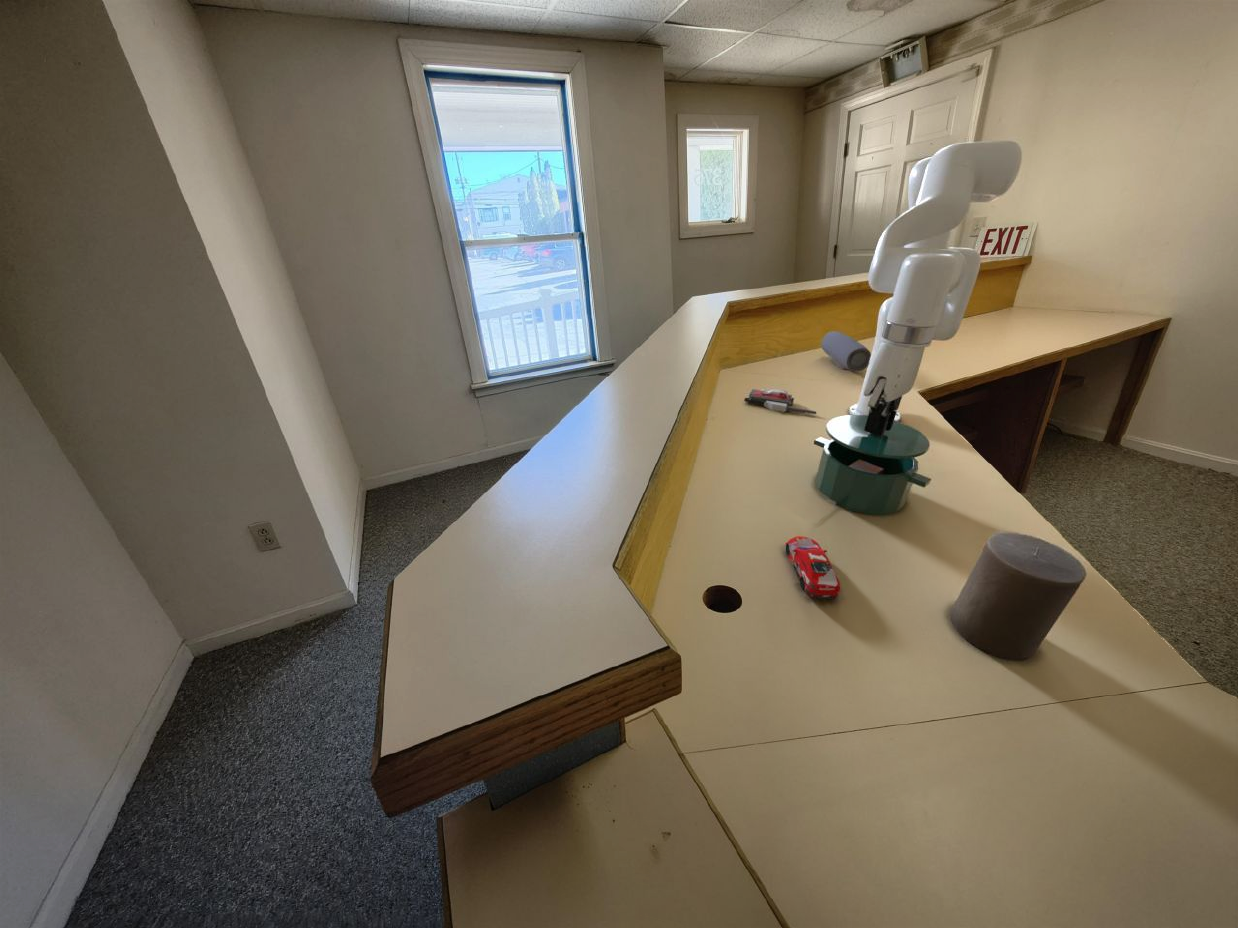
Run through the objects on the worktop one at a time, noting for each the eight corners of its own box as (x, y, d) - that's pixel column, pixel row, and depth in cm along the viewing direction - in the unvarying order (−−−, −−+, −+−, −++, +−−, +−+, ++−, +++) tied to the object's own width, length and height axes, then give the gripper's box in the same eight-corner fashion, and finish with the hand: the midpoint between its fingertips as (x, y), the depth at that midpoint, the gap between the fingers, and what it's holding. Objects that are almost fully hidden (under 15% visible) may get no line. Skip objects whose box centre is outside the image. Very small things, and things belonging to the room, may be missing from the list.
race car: (781, 544, 79) (785, 526, 77) (813, 545, 79) (818, 527, 77) (804, 601, 68) (809, 582, 66) (841, 603, 67) (848, 583, 65)
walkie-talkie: (741, 406, 132) (814, 419, 124) (743, 392, 129) (818, 404, 122) (748, 396, 138) (817, 407, 131) (750, 382, 136) (821, 393, 129)
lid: (852, 413, 98) (859, 388, 95) (943, 442, 86) (954, 414, 83) (807, 435, 89) (813, 408, 86) (901, 472, 77) (912, 442, 74)
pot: (829, 457, 105) (838, 424, 101) (932, 500, 90) (948, 463, 86) (788, 481, 96) (795, 446, 92) (895, 533, 81) (910, 493, 77)
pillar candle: (1006, 671, 57) (1064, 585, 50) (933, 616, 65) (974, 534, 58) (1051, 645, 61) (1112, 561, 53) (977, 595, 69) (1020, 515, 61)
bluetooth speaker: (868, 375, 155) (877, 346, 150) (841, 375, 155) (848, 346, 150) (841, 355, 174) (847, 329, 169) (816, 355, 174) (822, 329, 169)
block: (853, 479, 96) (859, 459, 94) (876, 489, 93) (884, 468, 90) (840, 487, 94) (847, 466, 91) (864, 498, 90) (871, 477, 88)
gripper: (905, 322, 84) (877, 413, 93) (862, 336, 75) (836, 435, 85) (950, 330, 79) (916, 425, 88) (910, 346, 70) (876, 450, 79)
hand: (877, 429), depth 86 cm, fingers closed on lid, 2 cm apart
